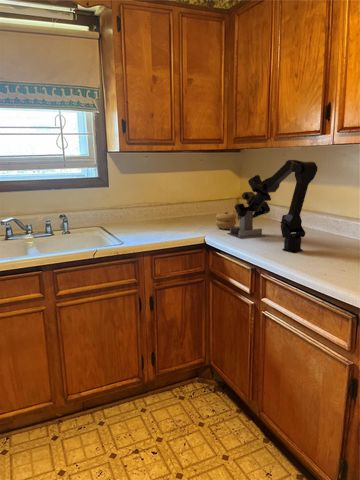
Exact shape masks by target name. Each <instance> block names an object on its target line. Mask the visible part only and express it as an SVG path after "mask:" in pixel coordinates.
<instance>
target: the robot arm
mask: <svg viewBox="0 0 360 480" xmlns="http://www.w3.org/2000/svg"><path fill="white" fill-rule="evenodd" d="M317 172H318V165H317V163H316V162H314V161H302V160H298V159H288V160H286V161H285V163H284V164H283V165H282V166H281V167H280V168H279V169H278V170H277V171H276V172H275V173H273V174H272V176H271V177H268V178H267V177H266V178H265V179H263V180H262V179H261V176H260V174H255V175H254V176H253V177H251V178H249V179H248V182H247V183H248V185H249V188H250V189H251V190H252V191H245V192H243V193H242V194H241V198H242V199H243V200H245V201H246V204H247V205H248V206H245V204H244V203H236V204H235V205H234V210H235V212H236V214H237V220H238V221H240V219H241V218H243V217H244V216H245V215H246V214H247V212H250V211H252V212H253V219H254V218H255V219H256V218H257V217H259V216H264V215H266V214H269V213H270V211H271V208H270V206H269V204H268V202H269V201H271V200H272V198H271V194H270V193H275V192H277V190H278V189H279V188H280V185H281V183H282V182H284V180H285V179H287V177H289V176H290V175H291V174H292V173H294V178H295V180H296V183H295V187H294V190H293V194H292V199H291V201H290V205H289V208H288V212H287V214H282V216H281V220H280V221H281V222H280V230H281V236H282V238H284V240H283V241H284V243H283V248H282V249H281V250H282V251H284V252H285V251H286V252H289V253H293V254H295V253H299V252H303V251H304V250H303V249H302V238H304V237H305V235H306V231H305V229H304V228H303V226H302V222H303V221H302V217H301V212H302V209H303V205H304V202H305V199H306V196H307V192H308V189H309V188H308V187H309V184H310V183H311V182H312V181H313V180H314V179H315V177H316V175H317Z"/></svg>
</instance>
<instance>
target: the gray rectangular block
mask: <svg viewBox="0 0 360 480" xmlns="http://www.w3.org/2000/svg"><path fill="white" fill-rule="evenodd" d="M253 214H254V212H252V211H250V212H247V214H246V215H245V216H244V217H243V218H241V219H239V227H240V228H239V231H242V230H251V229H252V226H253V222H254V218H253Z"/></svg>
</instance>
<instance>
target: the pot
mask: <svg viewBox="0 0 360 480" xmlns="http://www.w3.org/2000/svg"><path fill="white" fill-rule="evenodd" d="M215 219H216V220H215V225H216V227H217V228H219V229H222V230H230V228H235V227H236V225H237V221H236V220H237V216H236V214H235V213H234V212H228V211H227V210H225V211H224V212H223V211H221V212H218V213H217V214H216V215H215Z"/></svg>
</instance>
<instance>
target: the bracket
mask: <svg viewBox="0 0 360 480" xmlns="http://www.w3.org/2000/svg"><path fill="white" fill-rule="evenodd" d="M239 228H240V226H234V227H233V228H230V229H229V232H227V235H229V236H232V237H235V238H237V239H241V240H244V239H250V238H258V237H265V236H266V235H265V234H264V233H263V229H262V227H261V228H254V226H253V225H252V229H251V230H242V231H239Z"/></svg>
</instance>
